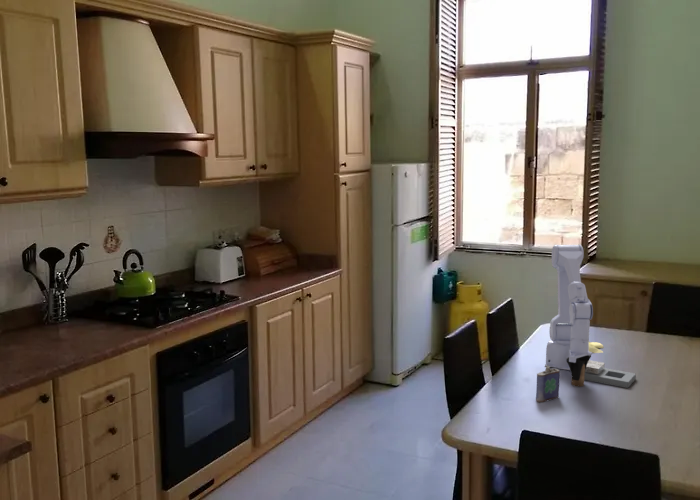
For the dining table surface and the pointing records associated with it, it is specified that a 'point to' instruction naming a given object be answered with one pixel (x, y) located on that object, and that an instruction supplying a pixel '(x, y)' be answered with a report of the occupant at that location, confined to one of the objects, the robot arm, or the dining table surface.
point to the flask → (547, 384)
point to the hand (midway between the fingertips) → (578, 377)
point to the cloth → (595, 347)
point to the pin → (581, 380)
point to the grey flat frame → (612, 377)
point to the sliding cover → (594, 367)
